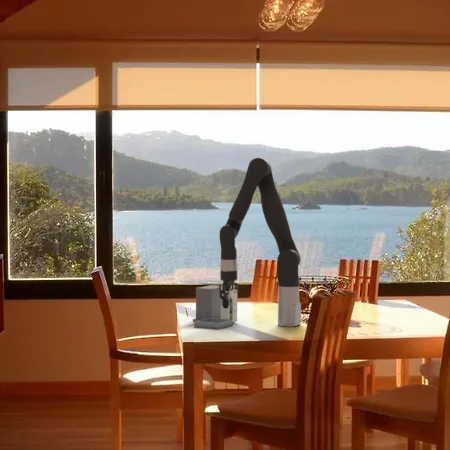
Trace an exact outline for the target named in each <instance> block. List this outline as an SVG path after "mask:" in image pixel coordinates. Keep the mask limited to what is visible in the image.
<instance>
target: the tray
mask: <svg viewBox="0 0 450 450" xmlns="http://www.w3.org/2000/svg"><path fill="white" fill-rule="evenodd" d="M193 322H194V328H198V329H199V328H200V329H201V328H203V329H212V330H221V329H222V330H223V329H224V328H229V327H232V326H233V323H232V320H228V319H216V318H206V319H202V320H198V321H193Z"/></svg>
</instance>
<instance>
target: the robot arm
mask: <svg viewBox="0 0 450 450" xmlns="http://www.w3.org/2000/svg"><path fill="white" fill-rule="evenodd" d="M257 188H258V190H259V194H260V203H261V209H262V213H263V216H264V219H265V222H266V225H267V227H268V229H269V231H270V233H271V234H272V236H273V238H274V240H275V242H276V245H277V248H278V256H277V259H276V274H277V275H276V279H277V283H278V284H277V288H278V289H277V293H278V294H277V325H278V326H280V327H294V326H296V327H298V326H297V325H299V326H301V325H300V324H301V323H302V303H301V302H300V278H299V266H300V265H301V261H302V260H301V255H300V252H299V250H298V247H297V245H296V244H295V241H294V239H293V236H292V233H291V229H290V224H289V220H288V218H287V213H286V210H285V207H284V205H283V203H282V199H281V197H280V194H279V192H278V189H277V188H276V183H275V181H274V175H273V170H272V166H271V163H270V162H269V161H268V160H267V159H265V158H263V157H255V158H252V159H251V160H250V161H249V163H248V166H247V169H246V173H245V176H244V180H243V182H242V185H241V188H240V190H239V192H238V194H237V196H236V198H235V200H234V203H233V204H232V207H231V209H230V211H229V214H228V219H227V220H226V223H225V224H224V225H223V226H222V227H221V228H220V230H219V245H220V265H219V266H220V267H219V268H220V270H219V271H220V272H219V276H220V279H219V280H220V281H222V284H221V285H218V286H219V292H220V299H222V300H223V308H228V295H229V292H230V290H237V296H239V295H238V294H239V292H238V291H239V283H238V282H235V281H238V261H237V260H238V257H237V255H238V253H237V252H238V251H237V248H236V238H237V236H238V235H239V233H240V230H241V227H242V224H243V222H244V220H245V217H246V215H247V214H248V211H249V209H250V207H251V204H252V201H253V198H254V194H255V193H256V190H257ZM226 291H228V292H227V293H226ZM222 294H223V295H222Z"/></svg>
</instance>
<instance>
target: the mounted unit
mask: <svg viewBox="0 0 450 450" xmlns="http://www.w3.org/2000/svg"><path fill="white" fill-rule="evenodd" d="M219 286H220V285H215V284H214V285H211V284H209V285H205V286H200V287H195V318H193V319H192V322H194V321H198V320H202V319H206V318H216V319H221V299H220V292H219Z"/></svg>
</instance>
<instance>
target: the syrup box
mask: <svg viewBox="0 0 450 450" xmlns="http://www.w3.org/2000/svg"><path fill="white" fill-rule="evenodd" d="M227 292H228V291H226V293H227ZM222 295H223V294H222ZM221 319H228V320H232V324H233V323H237V322H238V295H237V290H230V292H229V295H228V308H223V300H222V299H221Z"/></svg>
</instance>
